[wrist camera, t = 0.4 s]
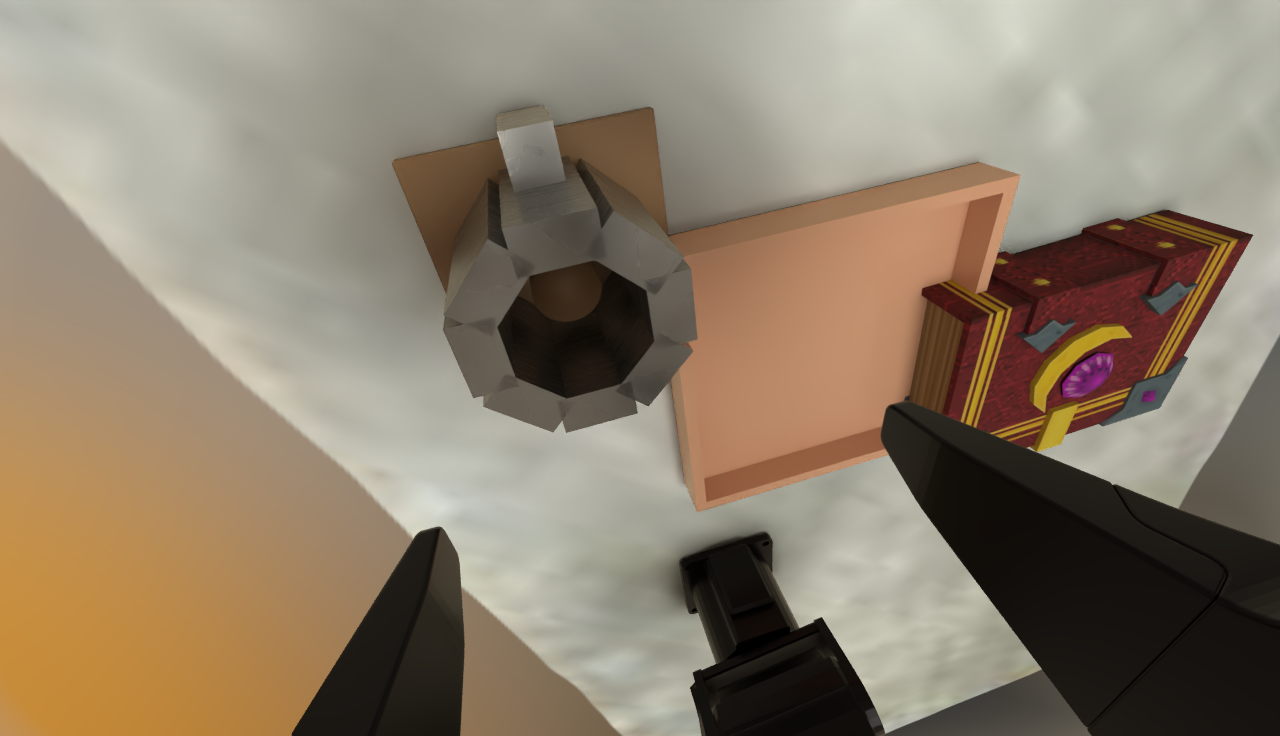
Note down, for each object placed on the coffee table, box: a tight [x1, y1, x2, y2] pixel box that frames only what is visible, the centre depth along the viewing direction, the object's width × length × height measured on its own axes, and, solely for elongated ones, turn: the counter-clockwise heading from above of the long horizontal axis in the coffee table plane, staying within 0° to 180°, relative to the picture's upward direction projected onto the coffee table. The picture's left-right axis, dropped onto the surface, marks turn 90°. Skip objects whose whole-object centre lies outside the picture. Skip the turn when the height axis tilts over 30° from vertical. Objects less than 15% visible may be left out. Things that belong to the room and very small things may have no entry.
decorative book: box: [904, 210, 1253, 452], centre depth 28 cm, size 11×16×5 cm
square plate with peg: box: [392, 107, 668, 322], centre depth 19 cm, size 9×9×4 cm
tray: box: [668, 162, 1021, 512], centre depth 26 cm, size 15×15×2 cm
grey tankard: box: [443, 105, 698, 433], centre depth 17 cm, size 9×7×6 cm
